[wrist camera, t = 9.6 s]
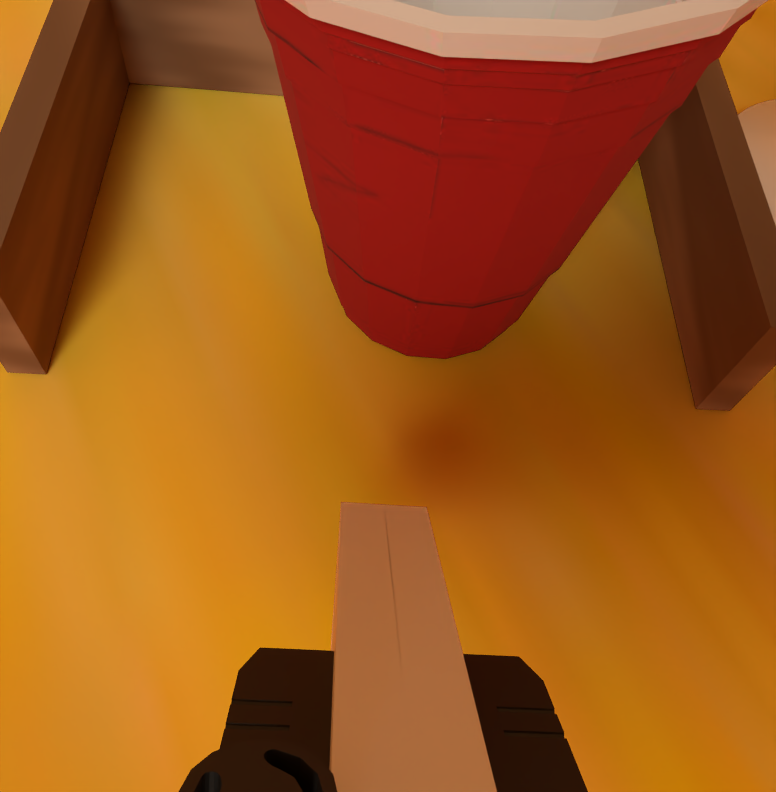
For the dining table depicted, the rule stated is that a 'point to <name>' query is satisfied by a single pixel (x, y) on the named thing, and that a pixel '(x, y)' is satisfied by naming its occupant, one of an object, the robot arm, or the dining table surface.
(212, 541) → the dining table surface
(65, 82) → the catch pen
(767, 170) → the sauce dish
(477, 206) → the plastic cup
